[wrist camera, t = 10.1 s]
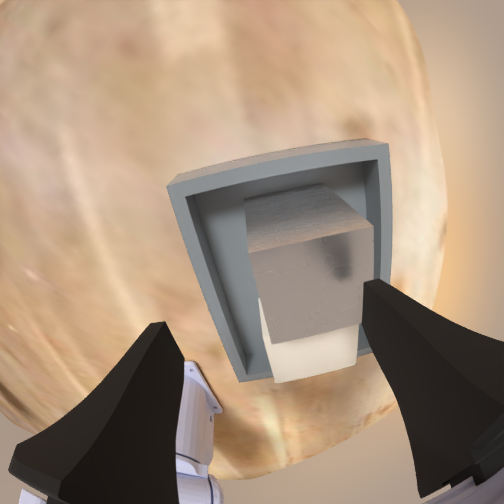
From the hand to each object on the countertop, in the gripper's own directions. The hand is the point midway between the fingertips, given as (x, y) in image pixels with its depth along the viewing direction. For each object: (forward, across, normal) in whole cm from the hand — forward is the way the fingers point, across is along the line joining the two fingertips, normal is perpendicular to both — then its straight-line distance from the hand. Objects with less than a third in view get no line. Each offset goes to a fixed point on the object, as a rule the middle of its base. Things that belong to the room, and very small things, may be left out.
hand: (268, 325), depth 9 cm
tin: (+8, -2, 0) cm, 9 cm away
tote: (+9, -2, +4) cm, 10 cm away
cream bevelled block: (+9, -2, +8) cm, 12 cm away
